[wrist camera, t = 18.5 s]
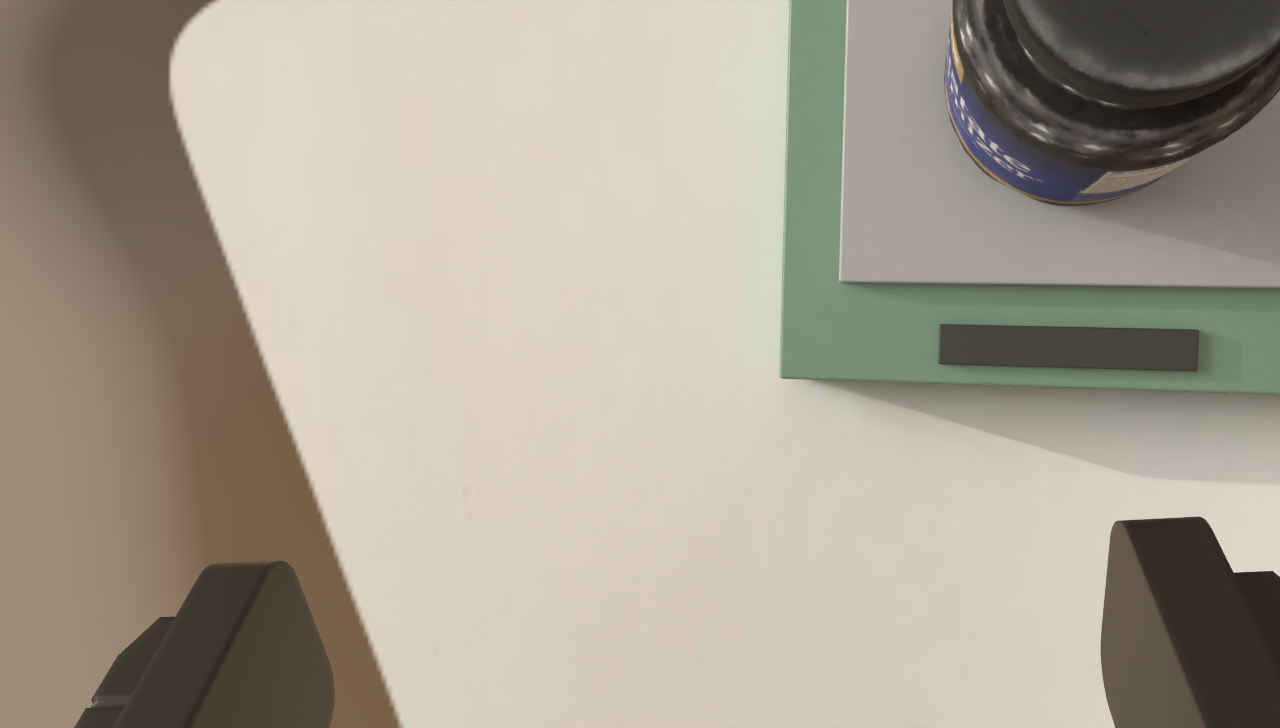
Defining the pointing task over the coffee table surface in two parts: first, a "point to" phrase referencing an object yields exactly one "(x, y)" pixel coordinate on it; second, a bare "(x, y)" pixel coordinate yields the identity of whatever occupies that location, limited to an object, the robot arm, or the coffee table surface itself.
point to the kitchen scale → (1004, 238)
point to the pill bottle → (1104, 88)
